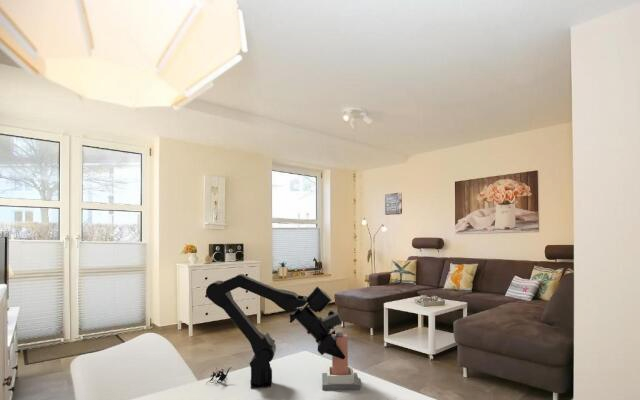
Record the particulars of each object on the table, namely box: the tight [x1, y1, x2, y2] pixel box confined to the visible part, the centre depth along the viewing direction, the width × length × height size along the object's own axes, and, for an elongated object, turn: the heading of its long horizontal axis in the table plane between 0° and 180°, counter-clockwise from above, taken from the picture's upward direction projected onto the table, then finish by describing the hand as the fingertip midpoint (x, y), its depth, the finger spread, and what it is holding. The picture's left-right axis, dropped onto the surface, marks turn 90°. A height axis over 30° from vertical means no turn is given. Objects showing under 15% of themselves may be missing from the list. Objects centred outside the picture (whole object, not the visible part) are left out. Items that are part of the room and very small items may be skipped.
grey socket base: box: [321, 365, 361, 391], centre depth 127 cm, size 12×10×4 cm
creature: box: [207, 366, 232, 385], centre depth 130 cm, size 8×5×8 cm
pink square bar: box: [331, 331, 349, 375], centre depth 128 cm, size 5×5×14 cm
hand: (343, 355), depth 128 cm, fingers closed on pink square bar, 5 cm apart
